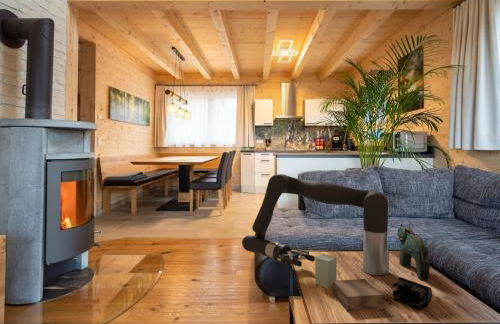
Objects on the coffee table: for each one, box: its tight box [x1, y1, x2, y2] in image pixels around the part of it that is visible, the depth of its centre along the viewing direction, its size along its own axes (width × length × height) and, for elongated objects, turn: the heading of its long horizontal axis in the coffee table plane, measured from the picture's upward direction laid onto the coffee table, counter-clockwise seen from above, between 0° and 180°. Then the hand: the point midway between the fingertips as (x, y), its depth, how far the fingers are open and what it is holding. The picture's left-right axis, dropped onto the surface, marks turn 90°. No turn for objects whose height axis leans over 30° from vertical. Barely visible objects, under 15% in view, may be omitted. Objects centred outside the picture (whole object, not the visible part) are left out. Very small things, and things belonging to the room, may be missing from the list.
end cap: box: [392, 276, 433, 312], centre depth 102 cm, size 10×7×7 cm
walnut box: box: [331, 278, 384, 312], centre depth 103 cm, size 12×12×5 cm
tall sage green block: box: [314, 253, 338, 289], centre depth 116 cm, size 6×6×10 cm
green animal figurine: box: [396, 222, 431, 282], centre depth 128 cm, size 20×6×20 cm, turn 178°
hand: (307, 261), depth 123 cm, fingers open, 8 cm apart
